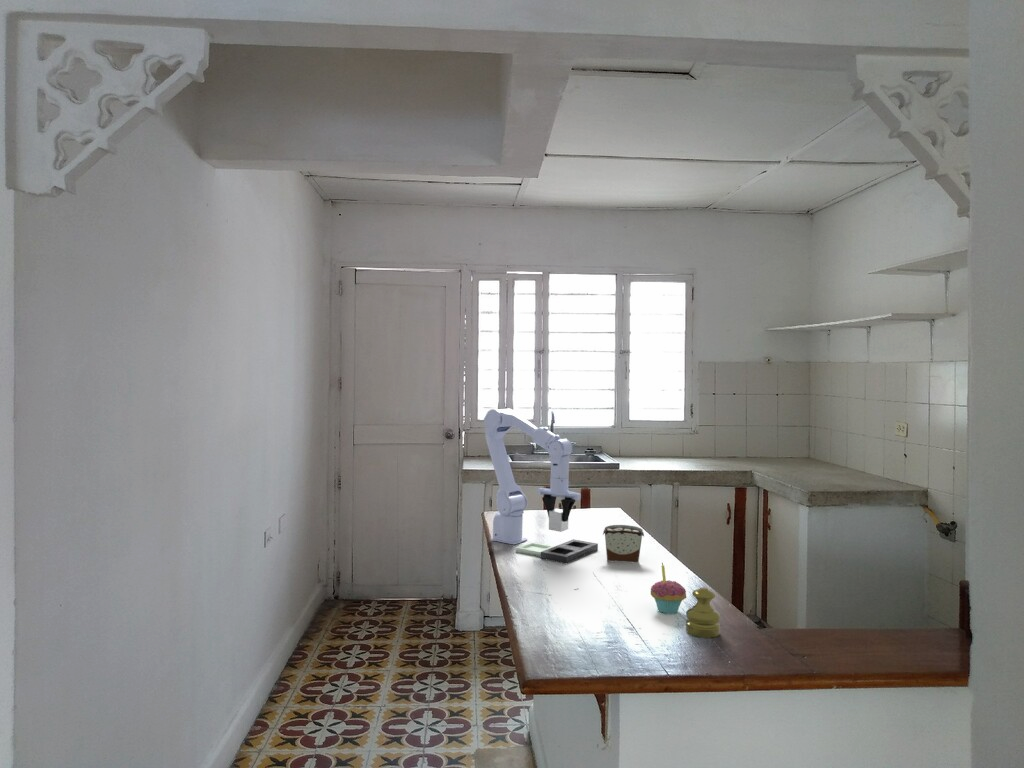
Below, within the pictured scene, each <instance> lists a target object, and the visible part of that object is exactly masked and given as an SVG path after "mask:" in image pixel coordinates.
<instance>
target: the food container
mask: <svg viewBox="0 0 1024 768" xmlns="http://www.w3.org/2000/svg"><path fill="white" fill-rule="evenodd" d="M602 535H604V538H605V541H604V542H605V550H606V561H607V562H611V561H613V563H615V562H616V563H632V562H634V564H638V563H639V562H640V561H639V560H640V556H641V555H640V553H641V549H642V548H641V545H642V539H643V538H645V533H644V530H643V528H641V527H638V526H633V525H630V524H629V525H628V524H611V525H607V526H605V527H604V529H603V533H602Z"/></svg>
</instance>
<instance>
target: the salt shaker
mask: <svg viewBox="0 0 1024 768" xmlns="http://www.w3.org/2000/svg"><path fill="white" fill-rule="evenodd" d="M692 596H693V597H694V598H695V599H696V601H697V602H696V603H695V604H694V605H693V606H692V607H690V608H688V609H687V610H686V612H685V613H686V614H685V615H686V618H687V619H686V621H685V631H686V632H687V633H688V634H689V635H690V636H693V635H694V636H693V637H696V636H697V638H700V637H705V638H704V639H712V638H711V637H714V638H717V637H719V636H720V634H721V624H720V623H719V622H720V621H721V617H722V616H721V614H720V613H719V612H718V610H715V608H714V606H712V605H711V603H710V602H711V601H712V600H713V599H715V598H716V593H715V592H714V591H712V590H711V589H709V588H708V587H703V586H702V587H699V588H696V589H695V590H693V591H692ZM716 636H717V637H716Z"/></svg>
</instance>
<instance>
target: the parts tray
mask: <svg viewBox="0 0 1024 768" xmlns="http://www.w3.org/2000/svg"><path fill="white" fill-rule="evenodd" d="M555 546H556V545H555ZM555 546H554V545H550V544H544V543H539V542H533V541H531V542H528V543H525V544H522V545H520V546H517V547H515V552H516V553H520V554H524V555H529V554H530V555H529V556H534V555H536V556H535V557H539V556H541V552H542V551H544V550H547V549H550V548H552V547H555Z"/></svg>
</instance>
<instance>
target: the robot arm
mask: <svg viewBox="0 0 1024 768" xmlns="http://www.w3.org/2000/svg"><path fill="white" fill-rule="evenodd" d="M483 423H484V426H485V433H484V434H485V435H484V437H485V441H486V444H487V449H488V452H489V456H490V459H491V462H492V465H493V469H494V473H495V477H496V480H497V483H498V487H499V488H498V490H497V492H496V493H495V496H496V497H495V498H496V508H497V509H496V510H497V511H498V512H497V513H495V515H494V516H493V521H492V538H491V541H494V542H500V543H505V544H508V545H517V544H520V543H523V542H527V541H528V538H525V537H523V523H524V522H523V520H524V519H523V514H524V511H525V510H526V509H527V507H528V499H527V496H526V494H525V493H524V492H523V489H522V487H521V486H520V485H518V484H517V483H516V481H515V477H514V474H513V470H512V466H511V463H510V459H509V457H508V453H507V450H506V445H505V442H504V437H505V435H506V433H507V432H508V431H510V430H511V428H512V427H514V428H516V429H517V430H519V431H521V432H523V433H525V434H526V435H528V436H530V437H532V438H531V439H532V442H533V443H535V444H536V445H537V446H539V447H540V448H541V449H544V450H545V451H547V453H548V455H549V457H550V485H549V488H548V487H547V488H545V487H540V488H537V495H538V496H543V497H541V498H542V499H541V500H542V502H543V504H544V505H545V509H546V511H547V518H549V511H550V510H553V509H556V508H555V507H556V501H557V498H562V499H561V500H560V502H561V507H562V508H561V509H563V522H566V521H568V522H569V517H570V514H571V510H572V509H573V506H574V504H575V503H576V501H580V500H581V499H582V494H581V493H579V492H575V491H570V490H569V478H570V477H569V475H570V456H571V455H572V454H573V451H574V446H573V443H572V441H571V440H570V439H568V438H566V437H564V438H561V436H560V435H559V434H555V433H553V432H552V431H550V430H549V427H547V426H540V427H537V426H536V425H534V424H533V423H531V422H530V421H529V420H527V419H526V418H524V417H523V416H521V415H520V414H519V412H518V411H515V410H514V409H512V408H508V407H507V408H499V409H494V408H492V409H490V410H488V411H487V412H486V415H485V416H484V418H483Z"/></svg>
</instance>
